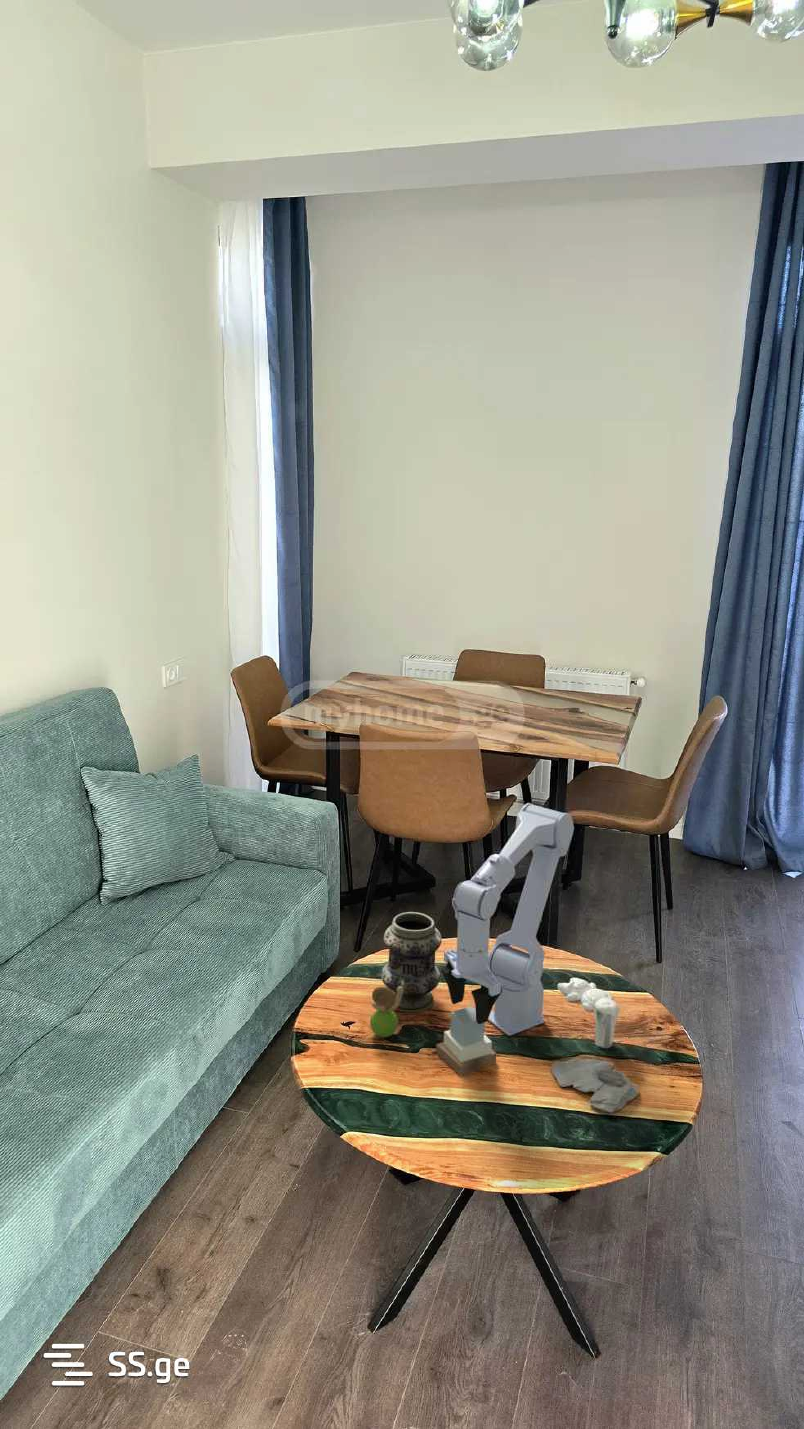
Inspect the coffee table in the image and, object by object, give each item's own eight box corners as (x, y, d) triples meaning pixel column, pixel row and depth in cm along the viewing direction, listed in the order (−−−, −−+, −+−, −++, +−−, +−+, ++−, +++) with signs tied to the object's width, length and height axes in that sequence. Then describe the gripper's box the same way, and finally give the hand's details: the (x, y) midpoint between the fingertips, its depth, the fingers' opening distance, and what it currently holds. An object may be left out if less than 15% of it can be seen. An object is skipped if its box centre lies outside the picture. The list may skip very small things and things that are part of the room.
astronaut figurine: (580, 979, 208) (581, 967, 207) (621, 1005, 198) (622, 992, 197) (550, 990, 203) (551, 978, 202) (590, 1018, 193) (591, 1004, 192)
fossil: (649, 1091, 169) (649, 1079, 169) (609, 1122, 163) (608, 1110, 162) (577, 1053, 182) (576, 1041, 181) (537, 1080, 175) (536, 1068, 175)
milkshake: (584, 1037, 186) (588, 991, 183) (611, 1036, 186) (615, 991, 184) (591, 1051, 182) (595, 1004, 179) (618, 1050, 182) (622, 1003, 180)
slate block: (469, 1027, 180) (470, 1006, 179) (483, 1039, 177) (485, 1017, 176) (450, 1033, 178) (451, 1012, 177) (464, 1046, 174) (465, 1024, 173)
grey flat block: (469, 1043, 184) (470, 1031, 183) (495, 1065, 178) (496, 1053, 177) (435, 1056, 180) (436, 1044, 179) (461, 1078, 173) (461, 1067, 173)
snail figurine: (399, 1045, 182) (401, 989, 179) (366, 1041, 183) (368, 985, 180) (405, 1029, 187) (407, 975, 184) (373, 1025, 188) (374, 970, 185)
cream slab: (473, 1035, 182) (473, 1023, 182) (491, 1053, 177) (491, 1042, 176) (443, 1043, 179) (444, 1031, 179) (460, 1062, 174) (461, 1050, 173)
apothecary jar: (451, 999, 198) (454, 920, 193) (413, 1023, 189) (415, 941, 184) (407, 978, 205) (409, 902, 201) (368, 1000, 197) (370, 921, 192)
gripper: (431, 934, 176) (429, 999, 180) (480, 969, 165) (476, 1038, 168) (462, 925, 180) (459, 989, 183) (511, 958, 168) (507, 1026, 172)
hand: (469, 1012), depth 176 cm, fingers open, 7 cm apart
